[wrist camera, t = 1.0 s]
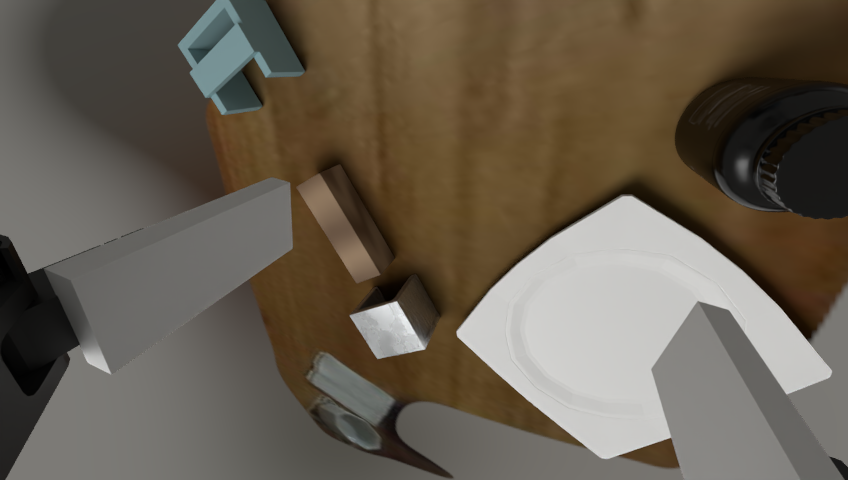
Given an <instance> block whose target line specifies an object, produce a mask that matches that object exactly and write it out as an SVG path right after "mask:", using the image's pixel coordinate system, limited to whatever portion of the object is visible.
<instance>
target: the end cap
mask: <svg viewBox="0 0 848 480" xmlns="http://www.w3.org/2000/svg"><path fill="white" fill-rule="evenodd" d="M350 317H351V318H352V320H353V322H354V323H355V325H356V326H357V328H358V329H359V331H360V332H361V334H362V336H363V337H364V339H365V340H366V342H367V343H368V345H369V347H370V348H371V350H372V351H373V353H374V354H375V356H376V357H377V359H379V358H384V357H389V356H394V355H399V354H404V353H409V352H414V351H419V350H424V349H425V348H426V346H427V344H428V342H429V340H430V338H431V336H432V334H433V332H434V330H435V328H436V325H437V323H438V321H439V319H440V315H439V314H438V312H437V310H436V308H435V307H434V305H433V303H432V301H431V299H430V298H429V296H428V294H427V292H426V291H425V289H424V287H423V285H422V283H421V282H420V280H419V278H418V276H417V275H416V274H414V275H411V276H410V277H409V278H408V280H407V281H406V282H405V284H404V285H403V287H402V288H401V289H400V291H399V292H398V294H397V295H396V296H395V298H394V299H393V300H391V301H388V302H386V300H385V298H384V297H383V295H382V293H381V292H380V290H379V288H378V287H374V288H372V289H371V290H370V292H369V293H368V294H367V295H366V296H365V298H364V299H363V300H362V301H361V302H360V303H359V305H358V306H357V307H356V308H355V309H354V311H353V312H352V313H351V314H350Z"/></svg>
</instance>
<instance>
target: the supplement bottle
mask: <svg viewBox="0 0 848 480" xmlns="http://www.w3.org/2000/svg"><path fill="white" fill-rule="evenodd" d="M675 146H676V150H677V153H678V155H679V157H680V158H681V160H682V161H683V162H684V163H685V164H686V165H687V166H688V167H689V168H690V169H692V170H693V171H694V172H696V173H697V174H698V175H700V176H701V177H702V178H704V179H705V180H706V181H708V182H709V183H710V184H712V185H713V186H714V187H716V188H717V189H718V190H720V191H721V192H722V193H724V194H725V195H726V196H728V197H729V198H730V199H732V200H733V201H735V202H737V203H739V204H741V205H743V206H745V207H748V208H751V209H754V210H759V211H765V212H793V213H797V214H798V215H800V216H803V217H811V218H813V219H819V218H824V219H832V218H843V217H846V216H848V85H847V84H842V83H836V82H826V81H814V80H797V79H780V78H762V77H746V78H738V79H733V80H729V81H726V82H723V83H720V84H718V85H716V86H714V87H712V88H710V89H709V90H707V91H705V92H704V93H702V94H701V95H700V96H699V97H697V98H696V99H695V100H694V101H693V102H692V103H691V104H690V105H689V106H688V107H687V109H686V110H685V111H684V113H683V115H682V116H681V118H680V120H679V122H678V125H677V128H676V133H675Z"/></svg>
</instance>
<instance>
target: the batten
mask: <svg viewBox="0 0 848 480" xmlns="http://www.w3.org/2000/svg"><path fill="white" fill-rule="evenodd" d="M297 189H298V191H299V192H300V194H301V195H302V197H303V199H304V200H305V202H306V203H307V205H308V207H309V208H310V210H311V211H312V213H313V215H314V216H315V218H316V219H317V221H318V223H319V224H320V226H321V227H322V229H323V231H324V232H325V234H326V235H327V237H328V239H329V240H330V242H331V243H332V245H333V247H334V248H335V250H336V251H337V253H338V255H339V256H340V258H341V259H342V261H343V263H344V264H345V266H346V267H347V269H348V270H349V272H350V274H351V275H352V277H353V278H354V280H355V282H356V283H359V282H362V281H364V280H367V279H370V278H373V277H376V276H378V275H381V274H382V273H383V271H384V270H385V269H386V268H387V267H388V266H389V264H390V263H391V262H392V261H393V260H394V259H395V258H394V256H393V254H392V252H391V251H390V249H389V247H388V246H387V244H386V242H385V240H384V239H383V237H382V235H381V234H380V232H379V230H378V228H377V227H376V225H375V223H374V222H373V220H372V218H371V216H370V215H369V213H368V211H367V209H366V208H365V206H364V204H363V203H362V201H361V199H360V197H359V196H358V194H357V192H356V191H355V189H354V187H353V185H352V184H351V182H350V180H349V179H348V177H347V175H346V173H345V172H344V170H343V168H342V167H341V165H340V164H339V165H337V166H334V167H332V168H330V169H328V170H325V171H323V172H321V173H319V174H317V175H315V176H314V177H312V178H310V179H309V180H307V181H305V182H304V183H302V184H301V185H299V186H297Z"/></svg>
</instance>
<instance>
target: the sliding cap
mask: <svg viewBox="0 0 848 480" xmlns="http://www.w3.org/2000/svg"><path fill="white" fill-rule="evenodd" d="M178 46H179V48H180V50H181V51H182V52H183V54H184V56H185V57H186V59H187V60H188V62H189V64H190V65H191V67H192V68H193V70H192V71H191V72H190V74H191V76H192V77H193V79H194V80H195V82H196V84H197V85H198V86H199V88H200V90H201V91H202V93H203V94H204V96H205V97H206V98H208V97H211V98H212V100H213V101H214V103H215V104H216V106H217V107H218V109H219V111H220V112H221V114H222V115H227V114H234V113H241V112H248V111H255V110H259V109H260V108H261V107H262V104H261V103H260V101H259V100H258V98H257V96H256V95H255V93H254V91H253V90H252V88H251V86H250V85H249V83H248V81H247V80H246V78H245V76H244V75H243V73H242V71H241V69H242V68H243V67H244V66H245V65H246V64H247V63H248V62H249V61H250V60H251V59H252V58H253V57H254V58H255V60H256V62H257V63H258V65H259V67H260V68H261V70H262V72H263V73H264V75H265V77H291V76H301V75H302V74H303V73H304V72H305V70H304V69H303V67H302V65H301V63H300V62H299V60H298V58H297V56H296V54H295V53H294V51H293V49H292V47H291V46H290V44H289V42H288V40H287V38H286V37H285V35H284V33H283V31H282V30H281V28H280V26H279V24H278V22H277V21H276V19H275V17H274V15H273V13H272V12H271V10H270V8H269V6H268V5H267V3H266V1H265V0H216V1H215V2H214V3H213V5H212V6H211V7H210V8H209V9H208V10H207V12H206V13H205V14H204V15H203V16H202V17H201V19H200V20H199V21H198V22H197V23H196V24H195V26H194V27H193V28H192V29H191V30H190V31H189V33H188V34H187V35H186V36H185V37H184V38H183V39H182V41H181V42H180V43H179V44H178Z"/></svg>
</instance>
